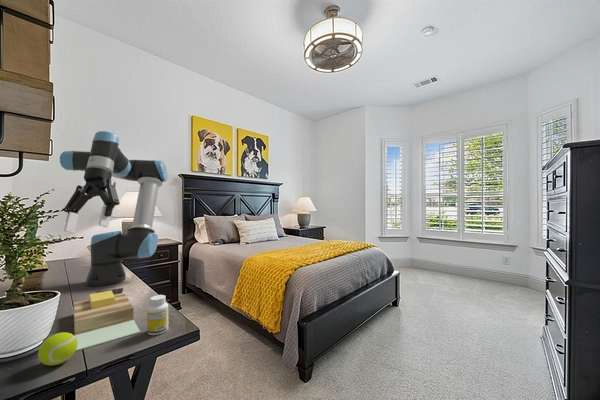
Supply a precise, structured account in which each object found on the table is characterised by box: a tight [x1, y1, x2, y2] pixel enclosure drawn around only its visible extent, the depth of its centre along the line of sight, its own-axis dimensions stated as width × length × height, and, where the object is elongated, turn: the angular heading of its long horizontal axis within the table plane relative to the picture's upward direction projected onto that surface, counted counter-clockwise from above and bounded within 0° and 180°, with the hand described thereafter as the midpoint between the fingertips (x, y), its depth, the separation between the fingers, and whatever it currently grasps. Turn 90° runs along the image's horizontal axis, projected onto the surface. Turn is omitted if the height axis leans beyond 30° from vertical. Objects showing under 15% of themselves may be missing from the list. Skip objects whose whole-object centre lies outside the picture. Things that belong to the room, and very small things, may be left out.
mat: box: [74, 319, 141, 352], centre depth 73 cm, size 10×14×1 cm
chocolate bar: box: [95, 287, 124, 295], centre depth 101 cm, size 9×1×18 cm
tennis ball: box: [37, 331, 78, 367], centre depth 60 cm, size 7×7×7 cm
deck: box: [73, 292, 134, 336], centre depth 84 cm, size 18×14×4 cm
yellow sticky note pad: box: [89, 289, 115, 309], centre depth 86 cm, size 9×6×2 cm, turn 42°
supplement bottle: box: [146, 294, 170, 336], centre depth 75 cm, size 5×5×10 cm
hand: (85, 229), depth 84 cm, fingers open, 13 cm apart
